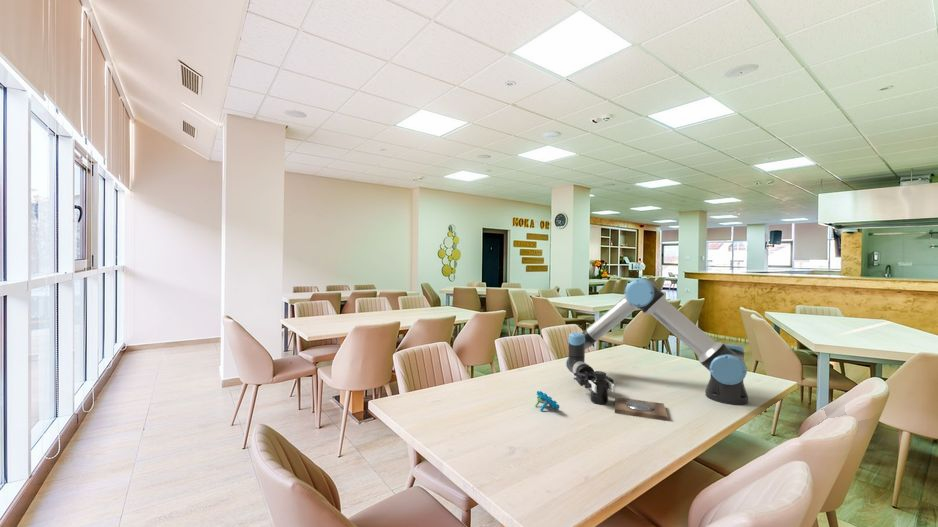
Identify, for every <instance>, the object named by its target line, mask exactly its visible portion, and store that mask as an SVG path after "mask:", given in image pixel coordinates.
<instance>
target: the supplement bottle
mask: <svg viewBox="0 0 938 527" xmlns="http://www.w3.org/2000/svg"><path fill="white" fill-rule="evenodd" d="M606 376H607V373H606V372H605V371H601V370H596V371H595V370H594V378H592V379H591V381H592V382H593V383H594V384H595V385H597V386H596V392H594V391H593V390H591V389H590V397H589V398H590V402H592V403H593V404H596V405H607V404H608V403H609V389H608V381H607V380H606V379H605V378H606Z"/></svg>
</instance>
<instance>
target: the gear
mask: <svg viewBox="0 0 938 527" xmlns="http://www.w3.org/2000/svg"><path fill="white" fill-rule="evenodd" d="M536 395H537V396H536V398H537V402H536V403H535V404H534V407H535V408H537V407H538V405H539V404H542V406H541V407H540V409H539V411H541V412H543V411H544V410H545V408H546V406H549V407H551V408H553V409H555V410H556V409H557V410H559V409H560V405H559V404H558V402H557V401H556V400H553V397H552V396H550V395H549V396H548V394H547V393H546V392H542V390H537V391H536Z"/></svg>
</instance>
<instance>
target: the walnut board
mask: <svg viewBox="0 0 938 527" xmlns="http://www.w3.org/2000/svg"><path fill="white" fill-rule="evenodd" d="M614 414H619V415H624V416H633V417H638V416H639V418H646V419H653V420H661V421H667V422H668V421H669V416H668V413H667V409H666V406H665V403H663V402H662V403H661V402H656V401H650V400H649V401H647V400H641V399H640V400H639V399H634V398H633V399H632V398H625V397H618V396H614Z"/></svg>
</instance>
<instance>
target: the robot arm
mask: <svg viewBox="0 0 938 527" xmlns="http://www.w3.org/2000/svg"><path fill="white" fill-rule="evenodd" d="M624 290H625V291H624V296H623V298H621V299H620V300H619V301H618V302H616V303H615V304H614V305H613V306H612V307H611V308H610V309H608V310H606V312H605V313H604V314H602V315H601V316H600V317H599V318H598V319H596V320H595V321H594V322H593V323H592V324H590V326H588V327H587V328H586V329H585V330H583V331H582V332H570V333H569V334H568V355H567V356H568V357H567V358H566V360H565V367H566V368H567V369H568V372H570V373H572V374H573V380H574V381H576V382H577V383H578V385H579V386H580V387H583V386H584V388H585V389H590V391H591V390H593V391H594V392H596V386H597V385H595V384H594V383H593V382H592V381H591V379H592V378H594V372H595V370H594V368H593V367H592V366H590V365H589V364H588V363H586V362H585V354H586V350H588V348H591V347H592V346H593V345H594V344H595V343H596V342H597V341H598V340H600V339H601V338H603V336H605V335H606V334H607V333H608V332H610V330H612V329H613V328H614V327H616V326H617V325H619V323H621V322H622V321H623V320H624V319H626V318H627V317H628V316H629V315H631V314H632V313H634V312H635V310H640V311H642V313H644V315H651V316H653V318H655V319H656V320H657V321H658V322H659V323H660V324H661V325H663V326H664V328H666V329H667V330H668V331H670V333H671V334H672V335H674V336H675V337H676V338H677V339H678V340H680V341H681V342H682V343H683V344H684V345H685V346H686V347H688V348H689V349H690V350H691V351H692V352H693V353H695V354H696V356H698V360H699V363H700V364H701V365H702V366H703V367H704V368H706V369H707V371H709V372H710V377H709V380H708V381H707V382H708V383H707V384H706V388H705V394H704V395H705V396H706V397H707V399H708V398H709V399H710V400H712V401H716V402H720V403H721V404H722V403H723V404H728V405H746V404H749V395H748V392H747V390H746V386H745V384H744V380H745V378H746V375H747V372H748V371H747V369H748V368H747V365H746V363H745V353H746V352H745V348H744V347H743V346H741V345H736V344H728V343H723V342H720V341H719V342H718V341H715V339H713V338H711V337H710V336H709V335H708V334H706V333H705V332H704V331H703V330H702V329H701V328H699V327H698V326H697V325H696V324H695V323H694V322H693V321H691V320H690V319H689V318H687V317H686V315H685V314H684V313H682V312H681V311H680V310H678V309H677V308H676V307H675V306H674V305H672V304H671V303H670V302H669V301H667V299H666V294H665V293H664V292H663V291H662V290H661V289H659V288H658V285H657V284H656V282H655V281H653V280H652V279H650V278H647V277H643V278H634V279H633V280H631V281H630V282H629V283H628V284H627V285H626V287H625V289H624ZM605 379H606V380H607V381H608V390H609V391H610V392H612V393H615V392H616V387H615V386H616V385H615V384H614V379H613V378H612V377H609V375H606V378H605Z"/></svg>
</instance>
